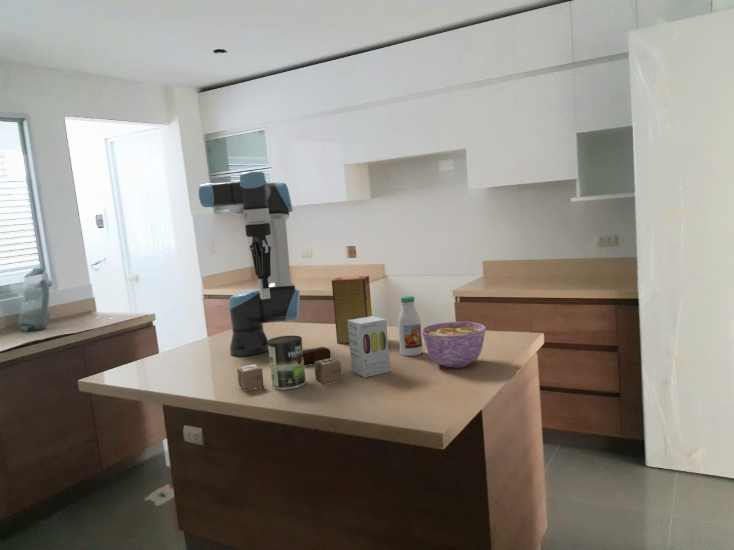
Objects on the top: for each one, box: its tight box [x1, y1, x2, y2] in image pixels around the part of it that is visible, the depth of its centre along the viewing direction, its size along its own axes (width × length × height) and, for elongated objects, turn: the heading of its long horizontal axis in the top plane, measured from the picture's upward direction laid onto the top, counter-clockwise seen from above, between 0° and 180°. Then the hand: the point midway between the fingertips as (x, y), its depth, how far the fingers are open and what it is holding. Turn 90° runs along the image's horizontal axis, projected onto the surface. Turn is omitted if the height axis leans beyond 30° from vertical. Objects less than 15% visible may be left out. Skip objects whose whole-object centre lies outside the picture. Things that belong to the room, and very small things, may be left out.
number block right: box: [313, 357, 343, 386], centre depth 169 cm, size 6×6×6 cm
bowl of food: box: [421, 321, 487, 368], centre depth 175 cm, size 20×20×12 cm
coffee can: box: [267, 335, 307, 391], centre depth 168 cm, size 10×10×14 cm
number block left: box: [236, 363, 265, 392], centre depth 169 cm, size 6×6×6 cm
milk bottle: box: [397, 295, 424, 357], centre depth 191 cm, size 8×8×20 cm
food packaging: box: [331, 275, 373, 344], centre depth 218 cm, size 13×9×25 cm
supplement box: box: [348, 315, 391, 379], centre depth 174 cm, size 10×9×17 cm
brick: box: [302, 346, 332, 367], centre depth 192 cm, size 11×4×5 cm, turn 119°
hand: (265, 298), depth 174 cm, fingers closed
